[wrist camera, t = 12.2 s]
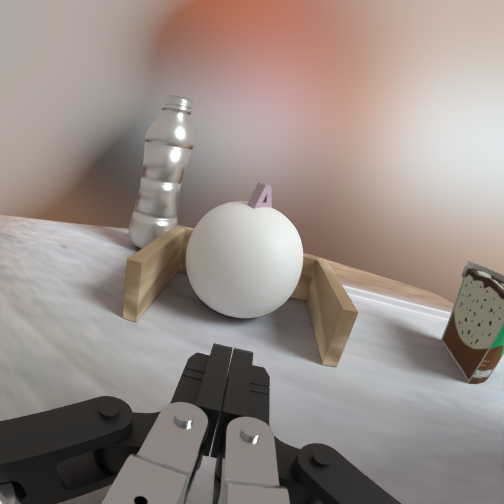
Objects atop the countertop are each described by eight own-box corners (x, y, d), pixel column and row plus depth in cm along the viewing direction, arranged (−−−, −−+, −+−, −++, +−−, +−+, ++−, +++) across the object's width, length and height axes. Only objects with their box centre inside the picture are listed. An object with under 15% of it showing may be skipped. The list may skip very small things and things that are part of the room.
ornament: (268, 354, 24) (311, 200, 21) (157, 309, 26) (180, 168, 23) (295, 309, 33) (326, 197, 30) (208, 279, 36) (230, 173, 33)
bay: (313, 298, 37) (325, 259, 36) (336, 366, 24) (358, 312, 22) (171, 265, 37) (177, 224, 36) (122, 317, 23) (127, 258, 22)
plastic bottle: (168, 242, 46) (196, 106, 41) (178, 259, 40) (211, 101, 35) (125, 238, 43) (151, 97, 37) (128, 255, 37) (159, 89, 32)
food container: (512, 395, 21) (557, 307, 18) (473, 391, 22) (521, 294, 19) (472, 343, 33) (501, 272, 30) (437, 335, 34) (466, 259, 31)
